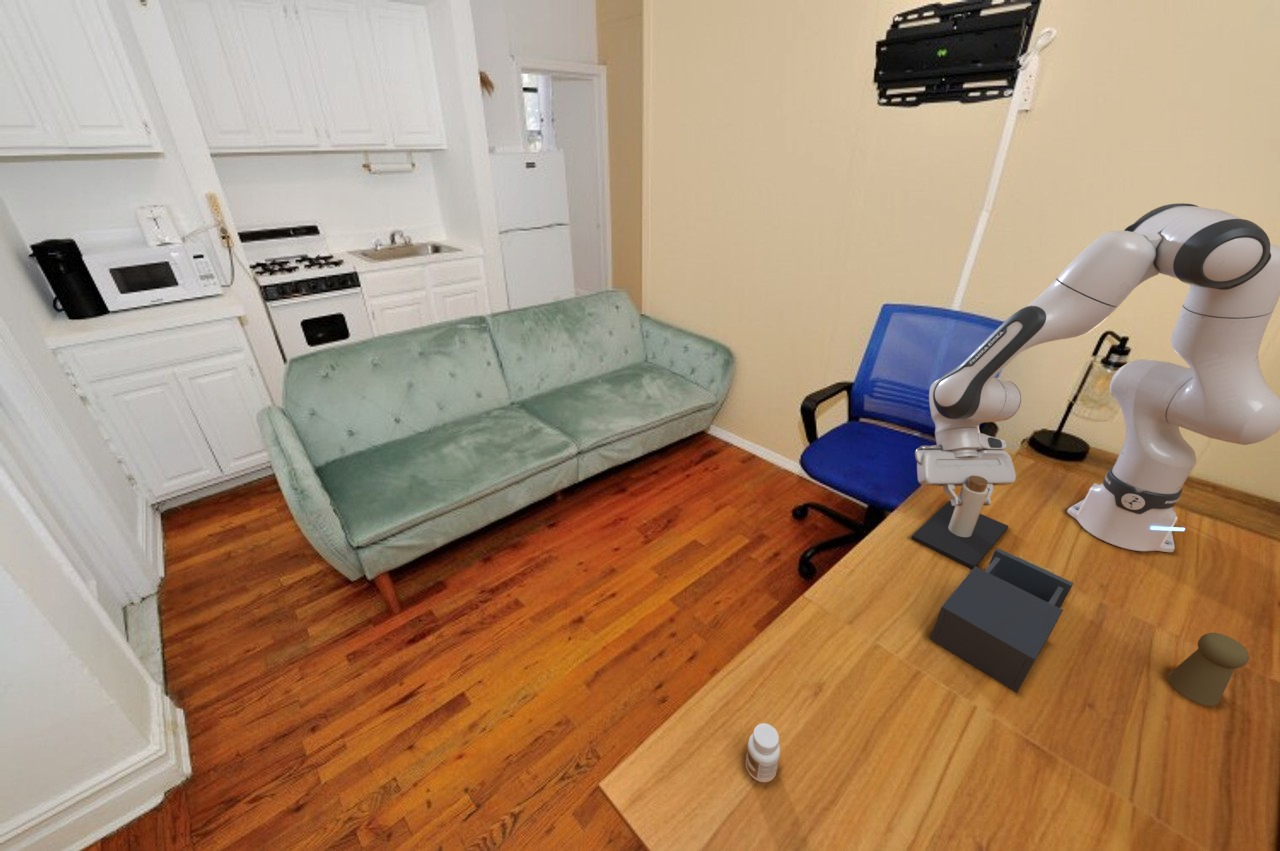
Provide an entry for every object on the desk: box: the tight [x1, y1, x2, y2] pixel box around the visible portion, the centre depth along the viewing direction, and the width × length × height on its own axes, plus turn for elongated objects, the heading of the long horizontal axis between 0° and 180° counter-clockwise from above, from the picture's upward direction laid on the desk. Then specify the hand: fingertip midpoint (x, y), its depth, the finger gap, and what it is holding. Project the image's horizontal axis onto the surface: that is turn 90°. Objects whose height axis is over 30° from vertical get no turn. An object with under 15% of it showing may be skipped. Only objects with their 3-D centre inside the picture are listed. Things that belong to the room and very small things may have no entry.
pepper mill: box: [948, 475, 988, 537], centre depth 112 cm, size 5×5×14 cm
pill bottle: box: [745, 722, 781, 783], centre depth 71 cm, size 4×4×8 cm
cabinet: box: [929, 566, 1064, 694], centre depth 89 cm, size 15×14×8 cm
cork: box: [1167, 632, 1250, 707], centre depth 79 cm, size 6×6×11 cm
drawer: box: [984, 547, 1074, 609], centre depth 96 cm, size 18×13×6 cm
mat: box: [910, 500, 1009, 570], centre depth 116 cm, size 20×13×1 cm, turn 130°
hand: (971, 505), depth 111 cm, fingers closed on pepper mill, 5 cm apart
